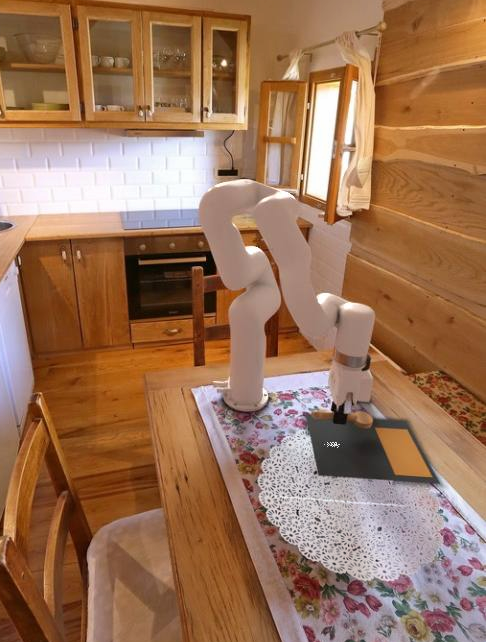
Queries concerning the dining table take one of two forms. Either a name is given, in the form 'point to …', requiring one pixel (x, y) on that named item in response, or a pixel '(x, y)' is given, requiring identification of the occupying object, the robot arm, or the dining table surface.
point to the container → (365, 382)
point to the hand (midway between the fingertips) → (337, 418)
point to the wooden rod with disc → (357, 418)
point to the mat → (369, 451)
